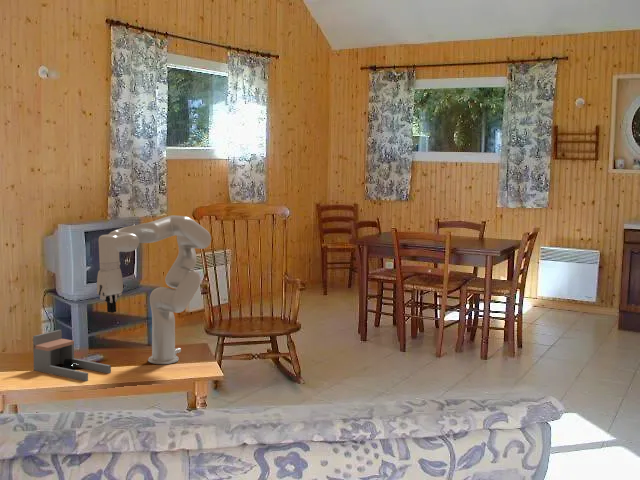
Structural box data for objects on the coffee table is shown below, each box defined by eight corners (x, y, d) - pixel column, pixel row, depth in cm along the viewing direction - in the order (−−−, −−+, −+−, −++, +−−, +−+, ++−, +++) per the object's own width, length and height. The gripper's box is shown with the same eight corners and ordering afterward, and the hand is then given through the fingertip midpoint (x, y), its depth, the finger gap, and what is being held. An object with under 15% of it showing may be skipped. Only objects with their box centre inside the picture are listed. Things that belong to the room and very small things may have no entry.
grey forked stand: (59, 362, 311) (59, 329, 309) (110, 372, 298) (110, 338, 296) (33, 370, 299) (33, 336, 297) (85, 381, 286) (85, 345, 284)
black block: (75, 375, 295) (75, 364, 295) (55, 376, 294) (55, 364, 293) (79, 366, 307) (79, 355, 307) (60, 367, 306) (60, 356, 305)
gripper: (116, 262, 299) (118, 307, 301) (88, 268, 286) (90, 314, 289) (130, 264, 295) (132, 309, 298) (102, 270, 282) (104, 317, 285)
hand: (111, 311), depth 293 cm, fingers closed
